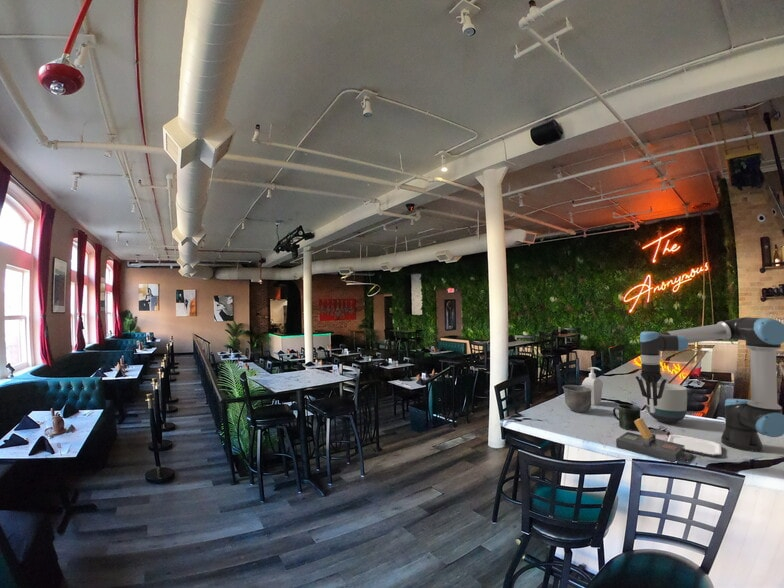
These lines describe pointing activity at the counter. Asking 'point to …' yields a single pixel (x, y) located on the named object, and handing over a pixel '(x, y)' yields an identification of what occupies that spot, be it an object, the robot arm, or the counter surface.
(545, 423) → the counter surface
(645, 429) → the lever
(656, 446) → the panel
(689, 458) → the cord
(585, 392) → the cup
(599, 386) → the soap bottle
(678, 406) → the planter
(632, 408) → the mug
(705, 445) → the plate
